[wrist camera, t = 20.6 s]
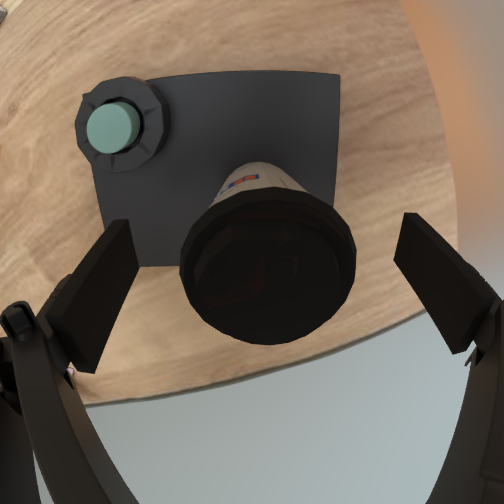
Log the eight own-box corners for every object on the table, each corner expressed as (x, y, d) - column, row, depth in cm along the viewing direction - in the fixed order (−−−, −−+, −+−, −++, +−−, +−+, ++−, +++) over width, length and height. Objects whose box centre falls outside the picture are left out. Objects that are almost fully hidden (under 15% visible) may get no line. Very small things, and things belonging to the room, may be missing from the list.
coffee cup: (333, 187, 19) (404, 277, 10) (267, 261, 21) (283, 379, 13) (246, 120, 16) (253, 154, 8) (182, 208, 19) (140, 314, 10)
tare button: (138, 98, 14) (129, 99, 13) (143, 144, 15) (134, 150, 14) (95, 106, 14) (83, 109, 13) (101, 151, 15) (89, 157, 14)
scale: (331, 70, 16) (349, 68, 13) (321, 248, 23) (332, 273, 20) (94, 88, 16) (68, 90, 13) (122, 254, 23) (107, 279, 20)
